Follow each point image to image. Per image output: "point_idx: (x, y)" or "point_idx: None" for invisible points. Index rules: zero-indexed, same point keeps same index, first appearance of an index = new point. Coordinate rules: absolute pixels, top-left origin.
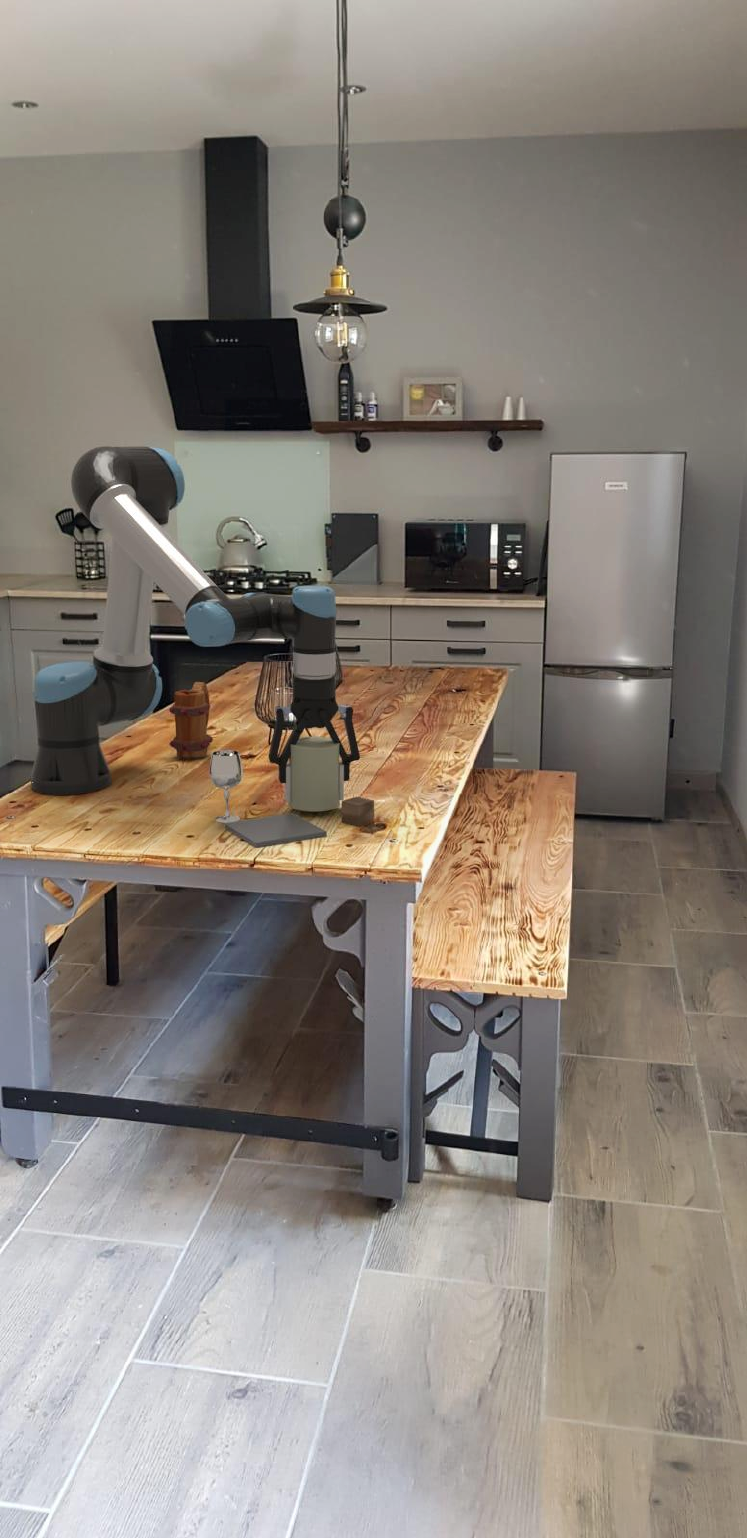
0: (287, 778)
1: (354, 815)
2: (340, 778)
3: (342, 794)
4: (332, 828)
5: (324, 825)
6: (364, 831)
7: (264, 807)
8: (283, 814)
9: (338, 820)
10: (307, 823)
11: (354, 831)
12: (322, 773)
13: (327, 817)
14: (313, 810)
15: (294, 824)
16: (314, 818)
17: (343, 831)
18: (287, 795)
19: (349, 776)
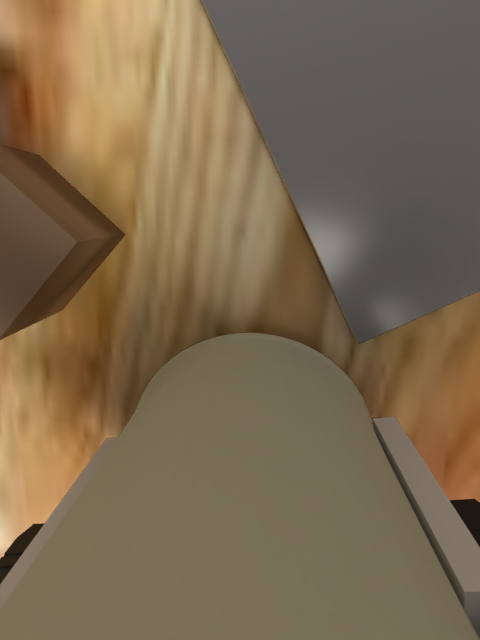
0: (445, 507)
1: (32, 171)
2: None
3: (100, 455)
4: (165, 135)
5: (205, 192)
6: (4, 70)
7: (466, 493)
8: (405, 319)
9: (141, 274)
10: (291, 140)
11: (53, 72)
12: (165, 449)
13: (193, 325)
14: (256, 334)
15: (362, 125)
16: (252, 314)
17: (108, 74)
18: (401, 436)
19: (10, 547)
